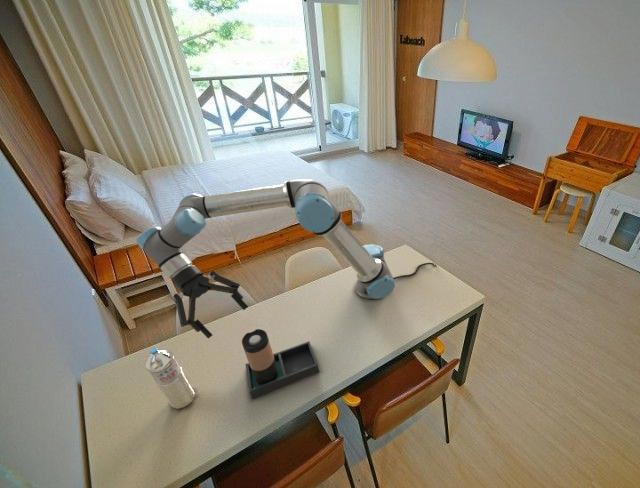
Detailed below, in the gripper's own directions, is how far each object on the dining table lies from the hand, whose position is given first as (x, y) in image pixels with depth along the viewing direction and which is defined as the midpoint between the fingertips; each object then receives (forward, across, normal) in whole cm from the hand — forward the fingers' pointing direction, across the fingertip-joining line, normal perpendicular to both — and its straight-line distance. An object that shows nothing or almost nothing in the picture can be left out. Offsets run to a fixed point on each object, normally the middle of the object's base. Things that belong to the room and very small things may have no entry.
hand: (229, 322), depth 103 cm
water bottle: (+11, +18, -22) cm, 30 cm away
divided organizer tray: (+26, -4, -6) cm, 27 cm away
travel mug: (+23, 0, -8) cm, 25 cm away
